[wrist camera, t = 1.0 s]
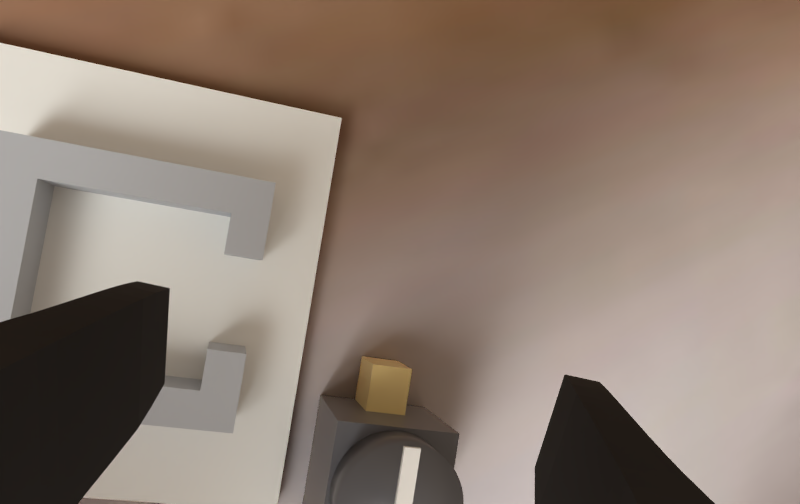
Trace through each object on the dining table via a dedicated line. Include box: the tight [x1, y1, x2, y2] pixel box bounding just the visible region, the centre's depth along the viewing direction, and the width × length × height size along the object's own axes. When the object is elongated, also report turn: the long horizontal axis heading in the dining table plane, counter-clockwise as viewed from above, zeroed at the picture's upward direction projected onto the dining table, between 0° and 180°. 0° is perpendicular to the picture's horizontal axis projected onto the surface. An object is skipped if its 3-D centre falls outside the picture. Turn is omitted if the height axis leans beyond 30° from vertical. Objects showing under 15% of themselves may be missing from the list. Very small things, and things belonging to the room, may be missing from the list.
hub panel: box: [0, 43, 342, 504], centre depth 21 cm, size 14×12×3 cm
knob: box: [303, 356, 463, 504], centre depth 22 cm, size 6×4×6 cm
